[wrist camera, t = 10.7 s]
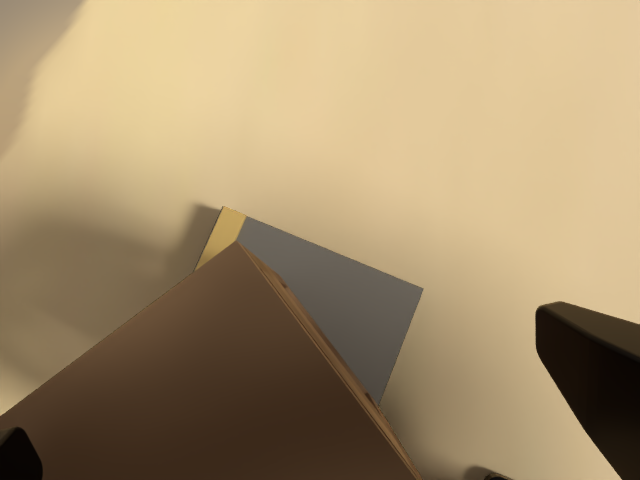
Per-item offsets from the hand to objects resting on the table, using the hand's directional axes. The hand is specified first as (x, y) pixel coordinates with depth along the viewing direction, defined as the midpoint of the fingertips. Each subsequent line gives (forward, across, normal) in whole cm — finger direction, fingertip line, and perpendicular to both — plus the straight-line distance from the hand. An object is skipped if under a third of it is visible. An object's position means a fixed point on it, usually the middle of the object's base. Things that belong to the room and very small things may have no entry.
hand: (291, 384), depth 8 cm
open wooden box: (+9, +2, +7) cm, 12 cm away
